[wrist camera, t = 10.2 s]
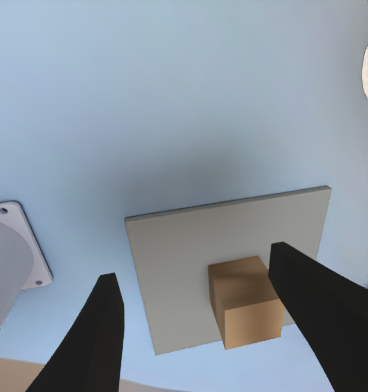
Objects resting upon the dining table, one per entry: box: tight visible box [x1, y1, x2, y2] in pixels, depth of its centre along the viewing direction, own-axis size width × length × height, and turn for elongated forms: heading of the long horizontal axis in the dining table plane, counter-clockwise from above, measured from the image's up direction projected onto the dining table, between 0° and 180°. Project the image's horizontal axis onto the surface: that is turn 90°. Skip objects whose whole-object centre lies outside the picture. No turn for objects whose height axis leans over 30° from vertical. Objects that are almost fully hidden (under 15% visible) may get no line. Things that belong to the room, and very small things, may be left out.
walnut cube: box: [208, 256, 285, 350], centre depth 22 cm, size 5×5×5 cm
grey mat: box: [125, 186, 332, 356], centre depth 25 cm, size 18×18×1 cm
